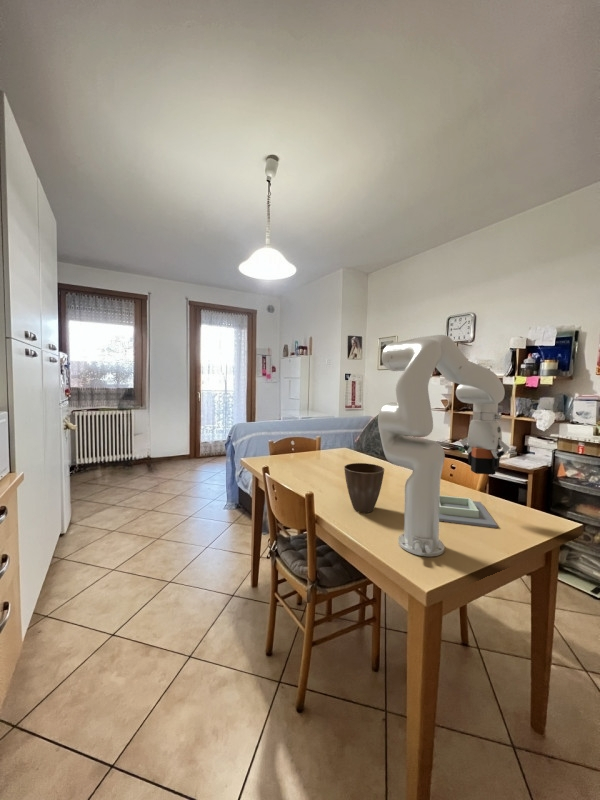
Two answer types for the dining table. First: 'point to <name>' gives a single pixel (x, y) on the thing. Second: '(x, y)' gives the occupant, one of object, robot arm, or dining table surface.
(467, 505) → the slot tray
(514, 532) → the dining table surface
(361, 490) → the plant pot
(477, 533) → the dining table surface
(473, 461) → the battery
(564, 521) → the dining table surface
